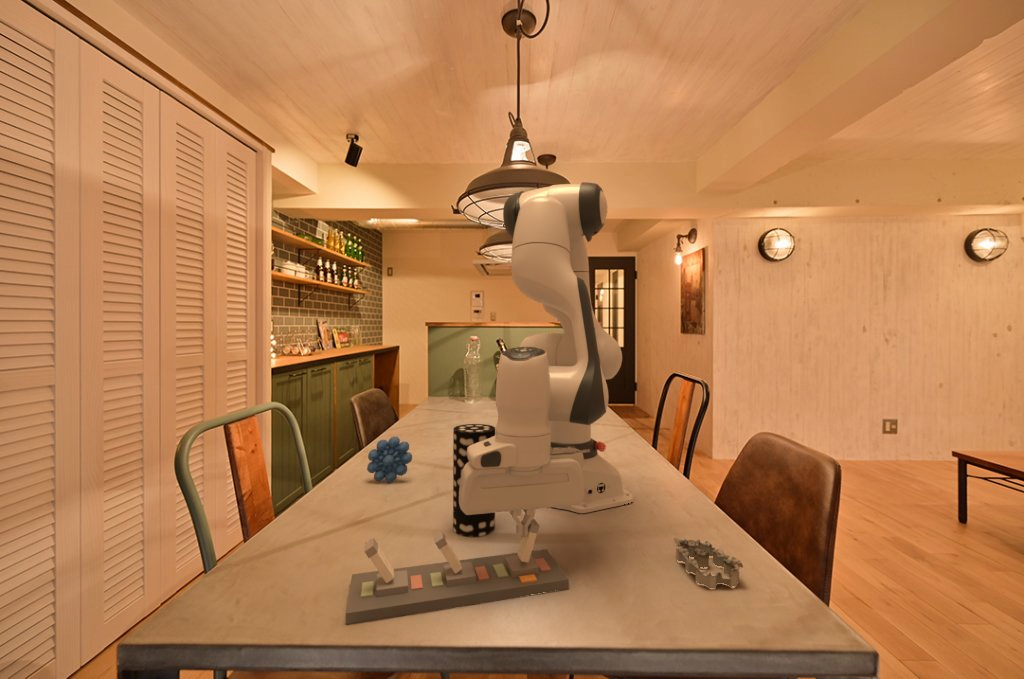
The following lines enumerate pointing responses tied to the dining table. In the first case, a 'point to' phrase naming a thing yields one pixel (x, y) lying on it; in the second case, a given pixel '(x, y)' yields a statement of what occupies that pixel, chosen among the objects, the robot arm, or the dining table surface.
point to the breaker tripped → (528, 542)
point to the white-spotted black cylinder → (461, 442)
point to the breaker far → (379, 560)
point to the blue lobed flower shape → (389, 459)
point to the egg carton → (707, 562)
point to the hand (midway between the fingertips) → (522, 535)
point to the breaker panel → (451, 585)
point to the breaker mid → (447, 551)
